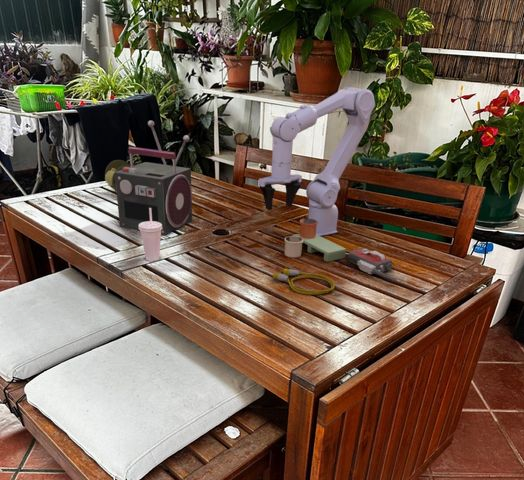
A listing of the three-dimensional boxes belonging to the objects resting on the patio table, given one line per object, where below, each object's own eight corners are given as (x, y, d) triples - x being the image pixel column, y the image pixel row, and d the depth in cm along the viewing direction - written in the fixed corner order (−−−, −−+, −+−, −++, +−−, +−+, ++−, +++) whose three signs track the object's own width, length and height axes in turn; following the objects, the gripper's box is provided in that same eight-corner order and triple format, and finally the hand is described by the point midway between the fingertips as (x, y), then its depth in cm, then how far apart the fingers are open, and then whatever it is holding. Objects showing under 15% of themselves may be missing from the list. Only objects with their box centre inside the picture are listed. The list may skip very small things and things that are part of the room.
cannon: (164, 185, 211) (162, 156, 205) (174, 193, 203) (173, 163, 197) (103, 191, 200) (99, 160, 194) (111, 199, 192) (107, 167, 186)
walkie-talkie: (338, 261, 149) (391, 286, 135) (340, 246, 146) (395, 270, 133) (359, 255, 153) (413, 279, 140) (361, 241, 151) (416, 263, 138)
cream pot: (294, 249, 155) (295, 234, 153) (305, 255, 151) (307, 240, 149) (279, 252, 152) (280, 237, 150) (290, 259, 149) (291, 243, 146)
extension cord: (303, 268, 143) (303, 261, 142) (343, 288, 133) (344, 281, 132) (268, 278, 136) (269, 271, 135) (308, 300, 126) (309, 292, 125)
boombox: (116, 227, 165) (105, 126, 149) (151, 210, 182) (145, 118, 166) (165, 236, 160) (159, 133, 144) (197, 218, 176) (194, 124, 161)
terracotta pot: (309, 232, 161) (310, 217, 159) (320, 237, 157) (321, 222, 155) (294, 234, 158) (296, 219, 156) (305, 240, 155) (307, 224, 152)
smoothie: (168, 256, 146) (165, 207, 139) (157, 264, 141) (153, 213, 134) (148, 252, 148) (144, 204, 140) (136, 260, 142) (132, 210, 135)
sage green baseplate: (309, 240, 163) (310, 231, 162) (345, 257, 151) (346, 248, 150) (291, 243, 160) (292, 234, 158) (327, 262, 148) (328, 252, 146)
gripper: (269, 166, 146) (266, 214, 153) (309, 162, 153) (305, 208, 160) (255, 161, 151) (253, 207, 158) (295, 158, 158) (291, 202, 165)
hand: (278, 207), depth 159 cm, fingers open, 7 cm apart
